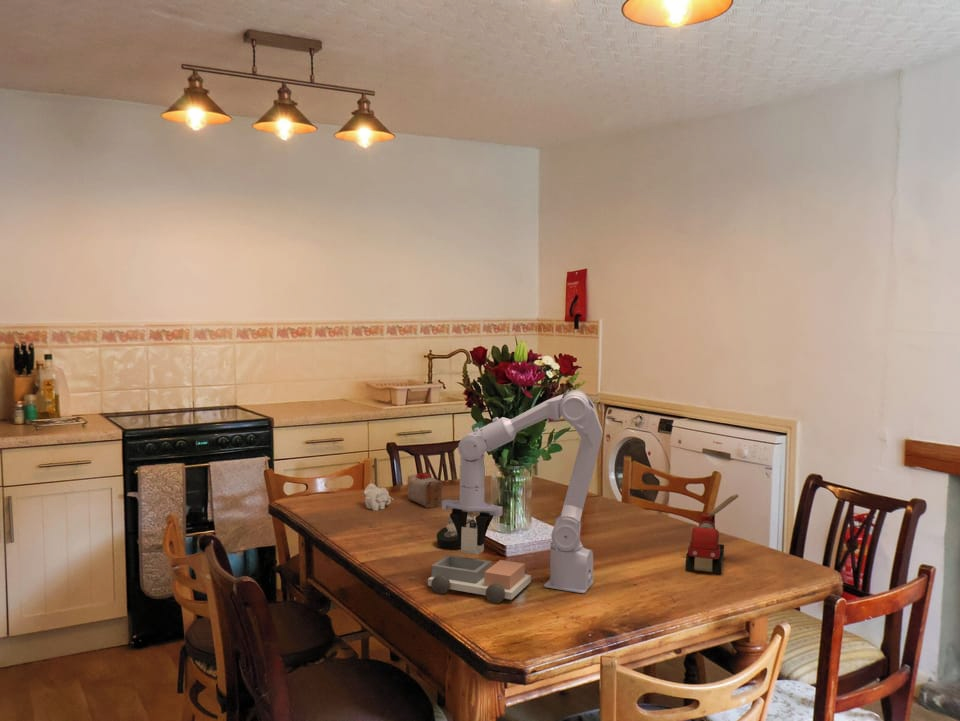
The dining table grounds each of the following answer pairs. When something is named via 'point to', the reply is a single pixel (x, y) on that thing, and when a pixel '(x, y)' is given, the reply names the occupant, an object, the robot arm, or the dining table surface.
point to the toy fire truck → (707, 543)
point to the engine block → (470, 539)
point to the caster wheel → (451, 534)
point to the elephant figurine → (376, 497)
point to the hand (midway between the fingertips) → (471, 543)
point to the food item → (425, 490)
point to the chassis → (479, 577)
